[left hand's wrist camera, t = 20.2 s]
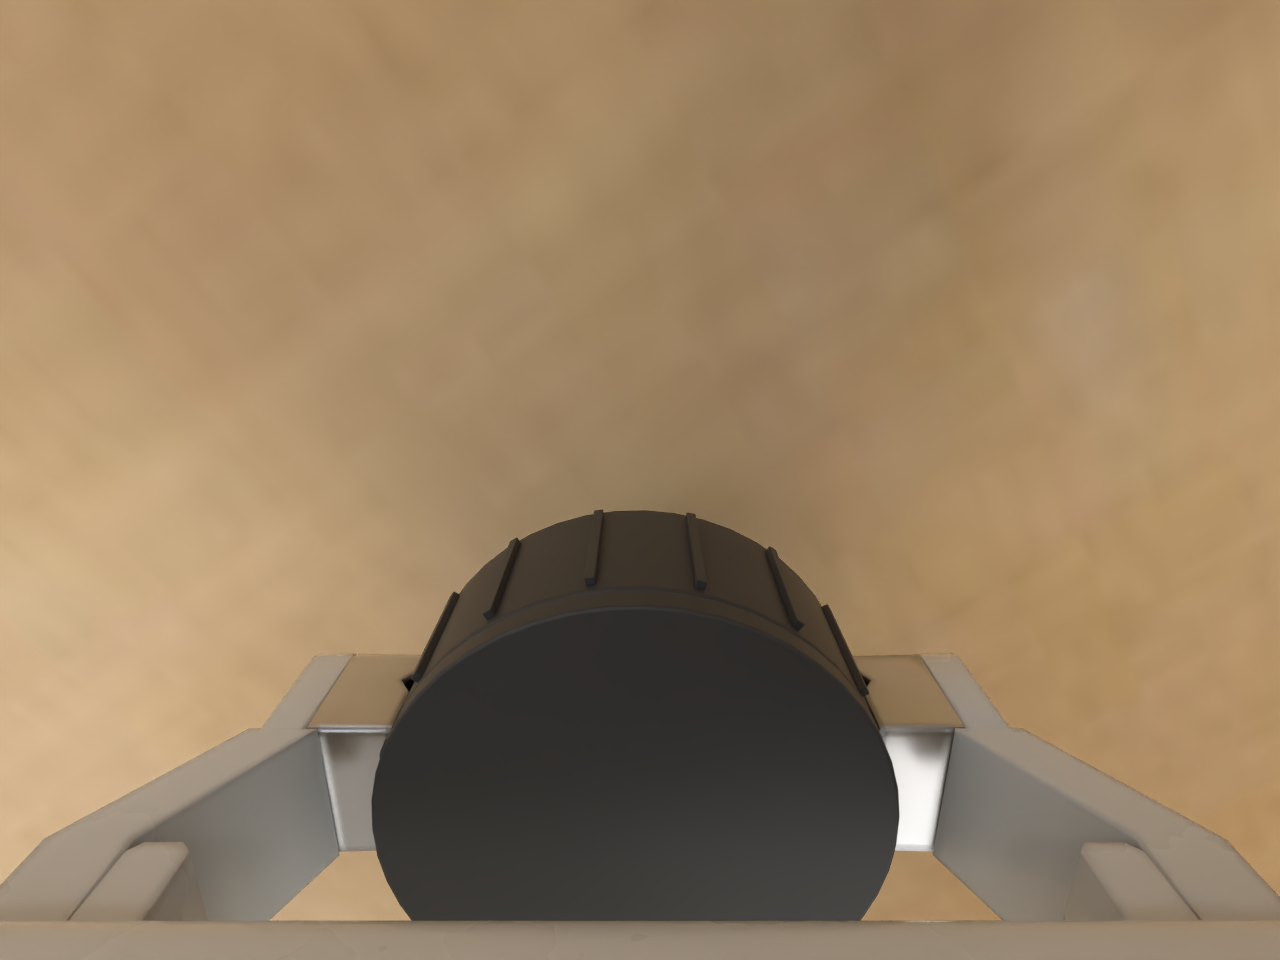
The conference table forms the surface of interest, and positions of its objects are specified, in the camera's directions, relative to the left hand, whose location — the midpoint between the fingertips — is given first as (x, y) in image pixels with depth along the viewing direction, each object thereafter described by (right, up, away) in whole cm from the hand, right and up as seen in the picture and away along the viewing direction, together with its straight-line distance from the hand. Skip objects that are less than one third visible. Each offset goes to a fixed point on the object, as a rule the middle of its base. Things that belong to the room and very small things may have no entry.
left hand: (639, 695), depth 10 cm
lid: (0, -1, -2) cm, 2 cm away
